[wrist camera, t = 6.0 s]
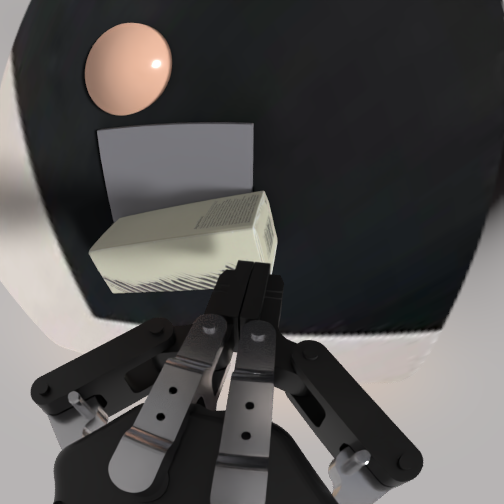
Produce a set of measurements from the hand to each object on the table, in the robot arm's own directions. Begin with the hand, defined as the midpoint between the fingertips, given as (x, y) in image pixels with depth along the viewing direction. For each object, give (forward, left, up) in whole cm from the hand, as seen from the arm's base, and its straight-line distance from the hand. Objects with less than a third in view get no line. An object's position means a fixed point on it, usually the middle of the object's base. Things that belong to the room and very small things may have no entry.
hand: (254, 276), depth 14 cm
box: (+1, 0, -5) cm, 5 cm away
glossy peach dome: (-10, -10, -8) cm, 17 cm away
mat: (0, -7, -8) cm, 11 cm away
